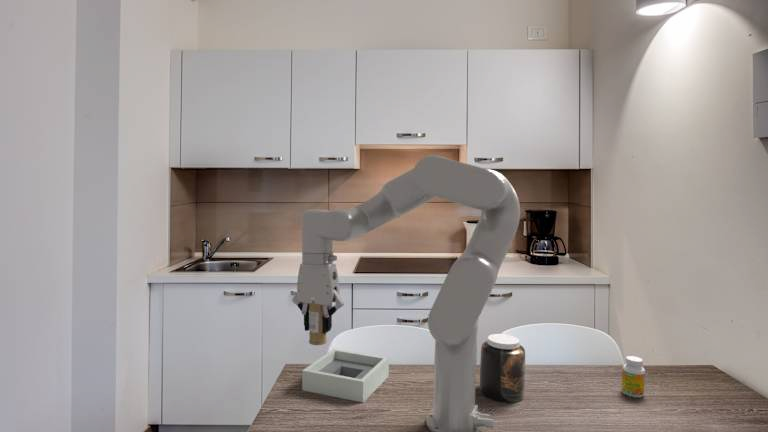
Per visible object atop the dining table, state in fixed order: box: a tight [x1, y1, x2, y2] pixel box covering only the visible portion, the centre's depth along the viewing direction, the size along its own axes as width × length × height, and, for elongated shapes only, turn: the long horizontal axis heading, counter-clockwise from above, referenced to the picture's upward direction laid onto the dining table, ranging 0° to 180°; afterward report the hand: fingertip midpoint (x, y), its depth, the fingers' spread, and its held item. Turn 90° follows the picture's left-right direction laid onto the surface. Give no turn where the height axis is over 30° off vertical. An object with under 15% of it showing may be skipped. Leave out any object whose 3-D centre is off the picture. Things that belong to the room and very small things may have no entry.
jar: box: [479, 333, 526, 404], centre depth 127 cm, size 12×12×15 cm
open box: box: [301, 348, 390, 403], centre depth 132 cm, size 18×18×6 cm
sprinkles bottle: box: [308, 297, 328, 346], centre depth 119 cm, size 5×5×14 cm
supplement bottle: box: [621, 355, 646, 398], centre depth 128 cm, size 5×5×10 cm
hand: (317, 329), depth 119 cm, fingers closed on sprinkles bottle, 4 cm apart
